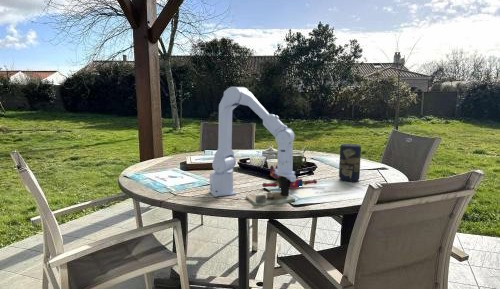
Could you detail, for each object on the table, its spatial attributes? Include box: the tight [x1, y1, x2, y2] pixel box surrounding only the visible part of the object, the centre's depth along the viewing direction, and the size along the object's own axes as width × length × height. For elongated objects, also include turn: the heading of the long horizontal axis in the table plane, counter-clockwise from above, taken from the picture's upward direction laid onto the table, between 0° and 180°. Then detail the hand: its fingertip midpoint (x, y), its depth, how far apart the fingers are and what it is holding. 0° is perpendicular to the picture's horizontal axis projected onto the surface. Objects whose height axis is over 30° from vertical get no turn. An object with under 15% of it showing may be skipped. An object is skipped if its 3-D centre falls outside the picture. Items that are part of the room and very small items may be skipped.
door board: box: [245, 192, 296, 207], centre depth 141 cm, size 16×11×4 cm
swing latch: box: [266, 190, 290, 199], centre depth 139 cm, size 9×3×2 cm, turn 114°
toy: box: [261, 165, 318, 190], centre depth 166 cm, size 25×6×30 cm
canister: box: [338, 142, 362, 182], centre depth 171 cm, size 10×10×18 cm
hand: (284, 195), depth 139 cm, fingers closed, pressing on swing latch
